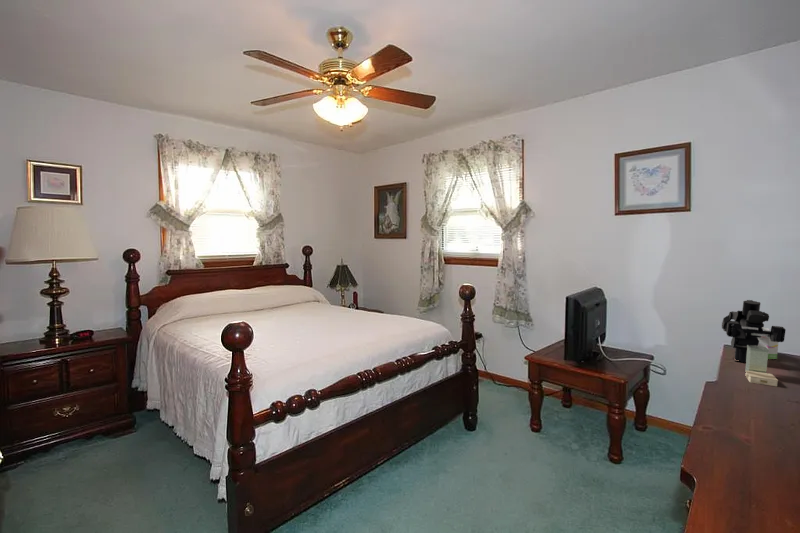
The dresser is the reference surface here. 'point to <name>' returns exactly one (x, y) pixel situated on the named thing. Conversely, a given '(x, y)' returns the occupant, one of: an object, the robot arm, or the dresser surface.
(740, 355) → the robot arm
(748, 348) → the green lidded box
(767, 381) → the jewelry box
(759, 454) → the dresser surface
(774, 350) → the ink box
